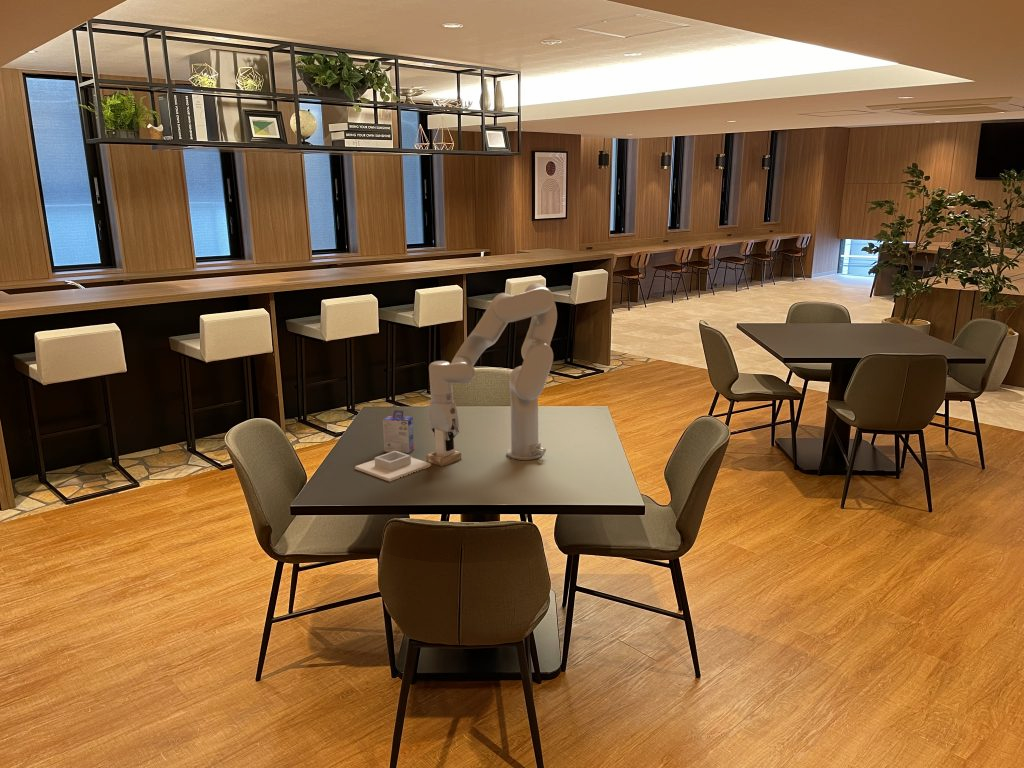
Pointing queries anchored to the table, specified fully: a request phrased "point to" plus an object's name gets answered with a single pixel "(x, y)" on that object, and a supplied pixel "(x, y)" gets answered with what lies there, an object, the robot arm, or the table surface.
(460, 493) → the table surface
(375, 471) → the port board
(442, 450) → the plug
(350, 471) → the table surface
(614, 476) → the table surface
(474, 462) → the table surface
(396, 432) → the ink cartridge box
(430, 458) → the brown rectangular frame
